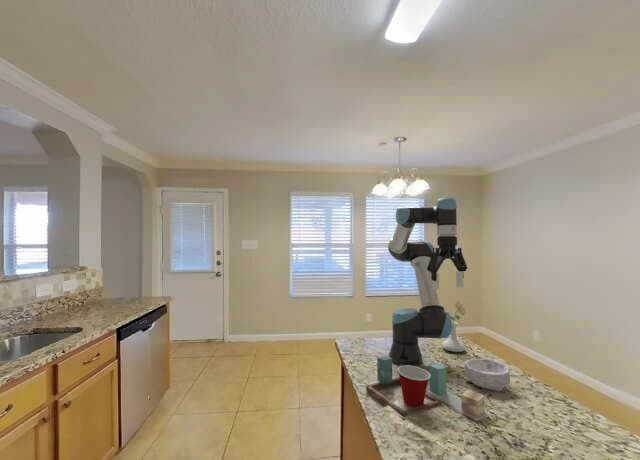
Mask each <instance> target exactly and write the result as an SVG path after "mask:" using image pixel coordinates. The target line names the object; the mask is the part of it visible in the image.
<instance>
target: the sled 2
mask: <svg viewBox="0 0 640 460" xmlns="http://www.w3.org/2000/svg"><path fill="white" fill-rule="evenodd" d="M429 373H430V375H431V377H430V378H429V390H426V392H427V393H429V394H431V395H433V396H434V397H436V398H438V399H439V400H441V401H443V402H444V403H446V404H448V405H449V406H451V407H453V408H455V409H456V410H458V411H460V412H461V413H463V414H465V415H466V416H468V417H470V418H471V419H473V420H475V421H476V422H478V421H480V420H484V419H486V418H489V417H491V416H492V414H491V413H489V412H487V411H486V410H485V412H484V413H483V414H482V415H481V416H480V417H475V416H473V415H471V414H468V413H466V412H463V411H462V402H461V397H460V396H458V395H456V394H455V393H453V392H451V391H448V390H447V389H448V388H447V387H448V385H447V383H448V382H447V366H445V365H442V364H440V363H439V362H437V363H433V364H430V365H429Z"/></svg>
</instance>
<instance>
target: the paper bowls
mask: <svg viewBox="0 0 640 460" xmlns="http://www.w3.org/2000/svg"><path fill="white" fill-rule="evenodd" d="M510 373H511V371H510V368H509V367H508V366H506V364H503V363H501V362H499V361H496V360H491V359H487V358H470V359H467V360H465V362H464V375H465V377H466V379H467V380H469V381H470V382H471V383H472V384H474V385H476V386H477V387H479V388H483V389H487V390H491V391H492V390H493V391H495V392H501V391H502V390H504V388H505V387H508V386H509V385H510V384H511V375H510Z"/></svg>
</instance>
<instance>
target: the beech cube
mask: <svg viewBox="0 0 640 460" xmlns="http://www.w3.org/2000/svg"><path fill="white" fill-rule="evenodd" d="M460 396H461V397H460V398H461V402H462V411H463V412H466V413H468V414H471V415H473V416H475V417H480V416H481V415H482V414H483V413H484V412H485V411H486V409H485V395H483V394H481V393H478V392H475V391H473V390H470V389H468V390H467V389H466V390H465V392H463V393H462V394H461V395H460ZM463 412H462V413H463Z"/></svg>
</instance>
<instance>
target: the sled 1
mask: <svg viewBox="0 0 640 460" xmlns="http://www.w3.org/2000/svg"><path fill="white" fill-rule="evenodd" d="M376 358H377V359H376V360H377V361H376V363H377V364H376V367H377V368H376V371H377V372H376V373H377V375H376V377H377V382H375V383H371V384H367V385H365V391H366V392H367V393H368V394H370V396H371V397H373V398H374V399H376V400H377V401H378V402H379V403H381V404H382V405H383V406H385V407H387V406H389V407H391V409H393V410H395V411H396V412H398V414H400V415H401V416H400V415H398V417H399V418H400V419H402V420H403V421H406V418H404V417H405V416H409V415H412V414H415V413H419V412H422V411H424V410H428V409H430V408H433V407H437V406H440V405H442V404H443V403H442V400H441V399H439V398H438V399H437V397H436V396H434V395H433V396H432V394H430V393H429V392H427V391H426V394H425V398H428V399H430V402H427V403H424V405H420V406H417V407H411V408H408V409H405V410H404V409H403V408H402V407H400V406H398V405H397V404H396V403H394V402H393V401H392V400H391V399H389V398H388V397H386V396H385V395H384V394H383V393H380V392H379V391H378V390H383V389H387V388H389V387H390V388H391V387H393V386H399V385H401V381H400V377H395V378H393V362H392V358H390V357H389V355H387V354H384V355H380V356H379V355H378V356H377V357H376Z"/></svg>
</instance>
